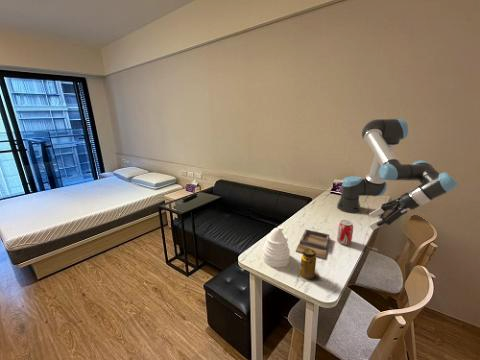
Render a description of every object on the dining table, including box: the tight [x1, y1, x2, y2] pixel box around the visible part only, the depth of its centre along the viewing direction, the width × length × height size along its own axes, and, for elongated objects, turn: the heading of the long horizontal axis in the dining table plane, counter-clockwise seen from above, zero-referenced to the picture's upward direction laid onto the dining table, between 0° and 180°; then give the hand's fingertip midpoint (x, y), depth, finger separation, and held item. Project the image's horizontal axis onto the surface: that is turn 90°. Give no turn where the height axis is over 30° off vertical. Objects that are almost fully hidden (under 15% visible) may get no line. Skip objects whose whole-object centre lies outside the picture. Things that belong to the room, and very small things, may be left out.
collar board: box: [295, 229, 331, 260], centre depth 119 cm, size 20×14×4 cm
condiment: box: [297, 249, 323, 282], centre depth 96 cm, size 7×8×12 cm
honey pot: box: [262, 225, 291, 269], centre depth 106 cm, size 13×13×18 cm
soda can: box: [336, 219, 354, 246], centre depth 119 cm, size 7×7×12 cm
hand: (370, 221), depth 111 cm, fingers open, 13 cm apart
